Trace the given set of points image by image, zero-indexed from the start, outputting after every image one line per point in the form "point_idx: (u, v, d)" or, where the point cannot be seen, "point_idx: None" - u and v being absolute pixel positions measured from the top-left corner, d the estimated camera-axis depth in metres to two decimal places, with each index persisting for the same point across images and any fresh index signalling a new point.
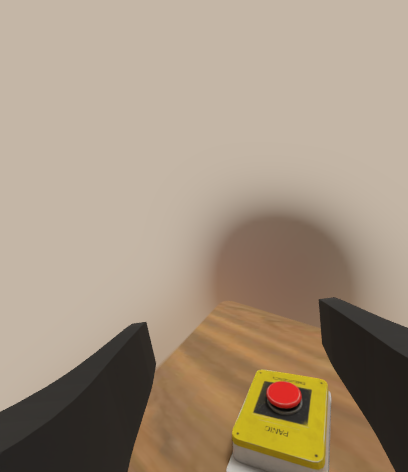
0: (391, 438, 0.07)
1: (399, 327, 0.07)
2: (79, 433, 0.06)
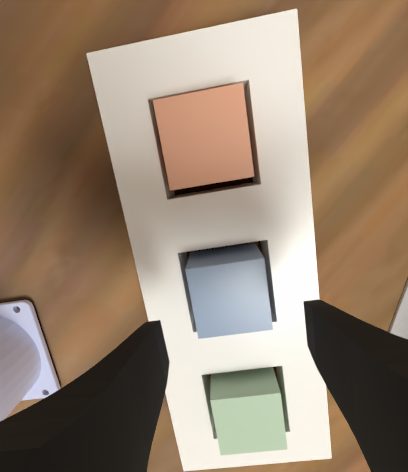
0: (367, 440, 0.07)
1: (376, 330, 0.07)
2: (104, 430, 0.06)
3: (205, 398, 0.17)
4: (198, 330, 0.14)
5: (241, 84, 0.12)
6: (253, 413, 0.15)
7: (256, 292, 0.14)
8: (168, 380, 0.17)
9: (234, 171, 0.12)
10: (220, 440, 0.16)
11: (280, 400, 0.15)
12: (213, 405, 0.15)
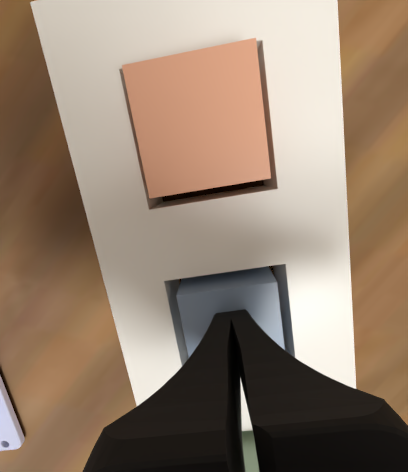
0: None
1: (269, 343, 0.08)
2: (233, 418, 0.06)
3: None
4: None
5: (253, 40, 0.08)
6: None
7: (266, 324, 0.11)
8: None
9: (241, 171, 0.09)
10: None
11: None
12: None
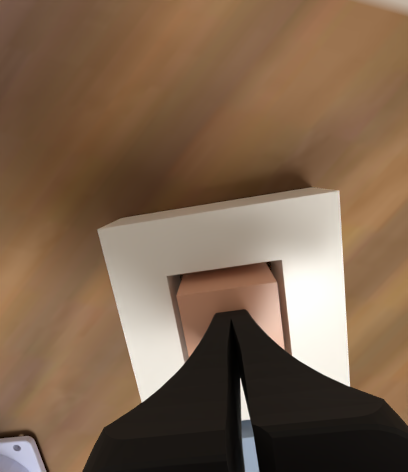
0: None
1: (269, 343, 0.08)
2: (232, 417, 0.06)
3: None
4: None
5: (275, 283, 0.10)
6: None
7: None
8: None
9: None
10: None
11: None
12: None
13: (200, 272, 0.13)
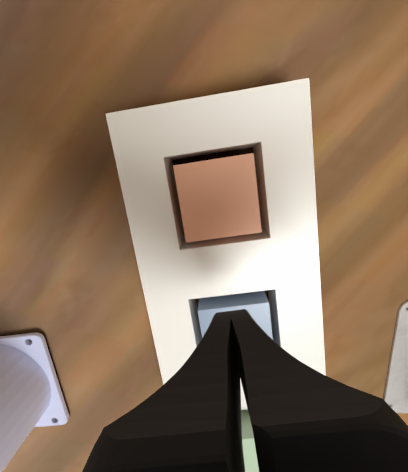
0: None
1: (269, 343, 0.08)
2: (232, 418, 0.06)
3: None
4: None
5: (252, 154, 0.13)
6: None
7: None
8: None
9: (243, 227, 0.14)
10: None
11: None
12: None
13: None
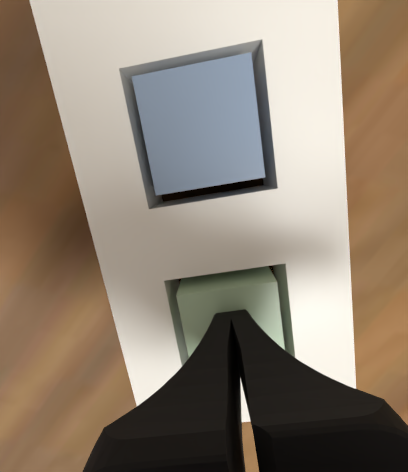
0: None
1: (269, 343, 0.08)
2: (233, 418, 0.06)
3: (171, 319, 0.12)
4: (155, 181, 0.10)
5: None
6: None
7: (239, 114, 0.09)
8: (115, 290, 0.11)
9: None
10: None
11: (276, 293, 0.11)
12: (180, 303, 0.11)
13: None
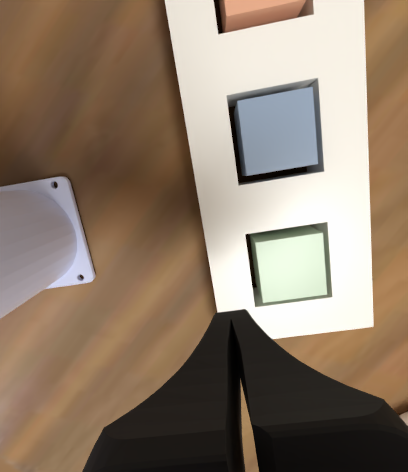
0: None
1: (269, 343, 0.08)
2: (232, 418, 0.06)
3: (248, 261, 0.17)
4: (247, 166, 0.15)
5: None
6: (296, 255, 0.16)
7: (303, 124, 0.15)
8: (211, 241, 0.17)
9: None
10: (263, 286, 0.17)
11: (322, 241, 0.16)
12: (258, 248, 0.16)
13: None
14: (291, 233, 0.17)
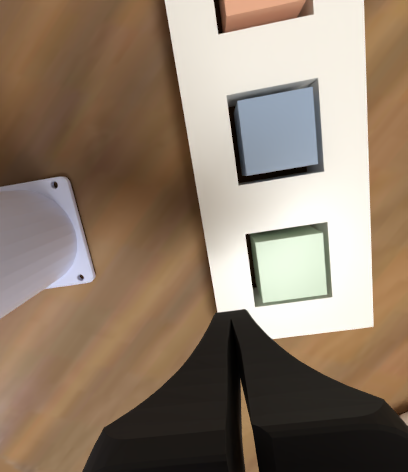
0: None
1: (269, 343, 0.08)
2: (232, 418, 0.06)
3: (248, 261, 0.17)
4: (247, 166, 0.15)
5: None
6: (296, 255, 0.16)
7: (303, 124, 0.15)
8: (211, 241, 0.17)
9: None
10: (263, 286, 0.17)
11: (322, 241, 0.16)
12: (258, 248, 0.16)
13: None
14: (291, 233, 0.17)
